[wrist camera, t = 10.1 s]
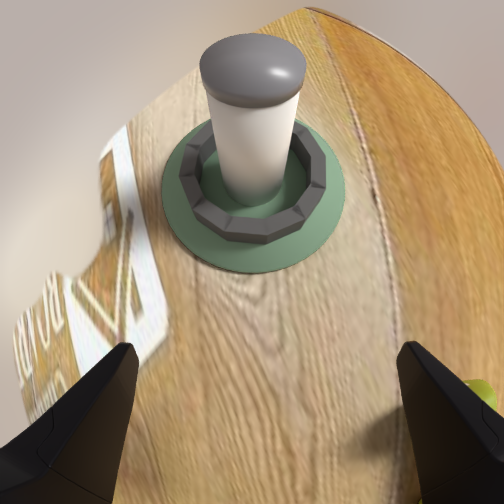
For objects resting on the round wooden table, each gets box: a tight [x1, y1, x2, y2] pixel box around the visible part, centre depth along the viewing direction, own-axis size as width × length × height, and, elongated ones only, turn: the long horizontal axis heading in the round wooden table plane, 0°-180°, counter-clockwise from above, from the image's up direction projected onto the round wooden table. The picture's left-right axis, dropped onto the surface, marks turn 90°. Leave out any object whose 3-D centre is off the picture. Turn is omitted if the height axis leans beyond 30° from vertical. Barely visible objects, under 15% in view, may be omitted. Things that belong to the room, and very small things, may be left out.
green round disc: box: [162, 119, 345, 273], centre depth 24 cm, size 16×16×3 cm
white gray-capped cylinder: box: [199, 33, 306, 206], centre depth 18 cm, size 5×5×13 cm
